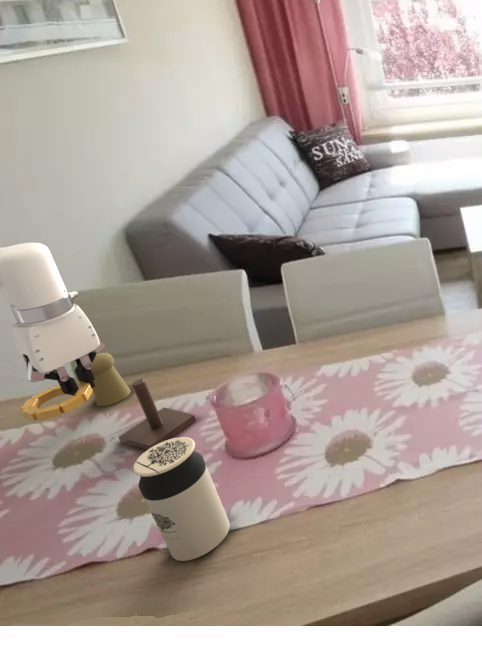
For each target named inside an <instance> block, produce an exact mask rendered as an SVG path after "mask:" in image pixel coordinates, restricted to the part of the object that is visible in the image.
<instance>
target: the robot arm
mask: <svg viewBox="0 0 482 652" xmlns="http://www.w3.org/2000/svg"><path fill="white" fill-rule="evenodd" d="M0 289H1V291H2V293H3V295H4V297H5V299H6V301H7V303H8V305H9V307H10V309H11V311H12V314H13V316H14V318H15V319H16V322H15V323H13V324H12V326H11V327H12V335H13V339H14V344H15V347H16V350H17V354H18V356H19V359H20V362H21V364H22V365H23V367H24V369H25V370H26V371H27V373H26V381H28V382H31V383H36V382H40V381H41V382H42V381H46V380H51V381H57V383H58V385H60V387H61V389H62V391H63V393H64V395H69V396H72V397H73V396H74V395H75V394H76V392H77V391H78V389H79V388H78V386H77V384H76V382H77V381H82V382H86V383H89V384H90V386H91V388H92V389H93V387H95V384H94V382H93V381H94V380H95V378H94V376H93V374H92V372H91V369H90V368H92V362H93V360H94V358H95V357H96V354H99V353H101V351H102V350H103V349H105V348H106V344H105V343H104V342H103V341H101V339H100V338H99V336H98V334H97V332H96V329H95V327H94V326H93V324H92V322H91V321H90V319H89V318H88V317H87V315H86V314H85V312H84V311H83V310H82V309H81V307H80V306H79V305H78V304H76V303H75V302H74V300H75V298H77V297H79V293H78V291H77V290H71V291H68V290H67V288H66V285H65V283H64V280H63V278H62V275H61V273H60V271H59V269H58V266H57V263H56V262H55V260H54V257H53V255H52V252H51V251H50V248H48V247H47V245H45V244H43V243H41V242H24V243H17V244H14V245H9V246H5V247H4V246H3V247H0ZM72 362H74V365H75V368H74V374H75V376H76V378H77V381H76V380H75V378H74V377H72V376H70V375H69V373H68V371H67V369H66V367H65V366H66V365H68V364H70V363H72ZM75 381H76V382H75Z"/></svg>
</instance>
